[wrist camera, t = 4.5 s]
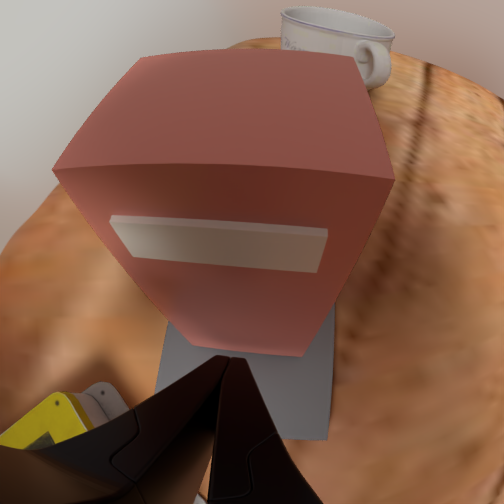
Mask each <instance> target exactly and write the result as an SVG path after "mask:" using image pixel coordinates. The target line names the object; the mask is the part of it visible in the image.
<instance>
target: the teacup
mask: <svg viewBox="0 0 504 504" xmlns="http://www.w3.org/2000/svg"><path fill="white" fill-rule="evenodd" d="M281 16H282V26H281V50H298V51H310V52H320V53H329V54H337V55H344V56H351V57H354V60H355V62H356V64H357V67H358V69H359V72H360V74H361V76H362V79H363V81H364V84H365V86H366V89H367V90H370V89H372V88H378V87H380V86H382V85H384V84H385V83H386V81H387V80H388V78H389V76H390V73H391V58H390V55H389V53H390V49H391V44H392V41H393V39H394V38H395V34H394V32H393V31H392V30H391V29H390V28H388V27H387V26H385V25H383V24H381V23H379V22H376V21H374V20H371V19H369V18H366V17H363V16H360V15H357V14H353V13H349V12H345V11H340V10H335V9H329V8H322V7H311V6H298V7H289V8H285V9H283V10H282V11H281Z"/></svg>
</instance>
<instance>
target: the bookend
mask: <svg viewBox="0 0 504 504" xmlns="http://www.w3.org/2000/svg"><path fill="white" fill-rule="evenodd" d="M334 328H335V302H334V304H333V306H332V308H331V310H330V311H329V313H328V315H327V317H326V318H325V320H324V322H323V323H322V325H321V327H320V328H319V330H318V332H317V334H316V335H315V337H314V339H313V340H312V342H311V343H310V345H309V347H308V348H307V350H306V352H305V353H304V355H303V356H302V357H295V356H281V355H269V354H259V353H249V352H240V351H231V350H223V349H215V348H208V347H201V346H194V345H192V344H191V343H190V342H189V341H188V340H187V339H186V338H185V337H184V336H183V335H182V334H181V333H180V332H179V331H178V330H177V329H176V328H175V327H174V325H173V324H172V323H171V322H170V321H168V326H167V331H166V335H165V340H164V345H163V350H162V355H161V361H160V366H159V371H158V377H157V382H156V388H155V393H154V394H156V393H158V392H159V391H161V390H162V389H164V388H166V387H167V386H169V385H170V384H172V383H174V382H175V381H177V380H178V379H180V378H181V377H183V376H184V375H186V374H187V373H189V372H191V371H192V370H194V369H195V368H197V367H198V366H200V365H201V364H203V363H204V362H206V361H207V360H209V359H210V358H212V357H213V356H215V355H224V356H229V357H230V358H231V357H241V358H245V359H246V360H247V362H248V364H249V367H250V369H251V372H252V374H253V376H254V379H255V381H256V383H257V386H258V388H259V390H260V393H261V395H262V397H263V399H264V402H265V404H266V406H267V409H268V411H269V413H270V415H271V417H272V420H273V422H274V424H275V426H276V429H277V431H278V434H279V435H280V437H281V439H294V440H327V438H328V428H329V417H330V406H331V392H332V376H333V357H334Z"/></svg>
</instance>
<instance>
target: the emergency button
mask: <svg viewBox="0 0 504 504" xmlns="http://www.w3.org/2000/svg"><path fill="white" fill-rule="evenodd" d="M128 410H130V409H129V407H128V406H127V404H126V403H125V401H124V400H123V398H122V397H121V395H120V394H119V392H118V391H117V389H116V388H115V387H114V386H113V385H112V384H110V383H108V382H101V381H100V382H97V383H95V384H93V385H91V386H90V387H89V388H87V389H86V390H85V391H83V392H82V393H69V392H55V393H52V394H51V395H49V396H48V397H47V398H46V399H44V400H43V401H42V402H41V403H39V404H38V405H37V406H36V407H34V408H33V409H32V410H31V411H29V412H28V413H27V414H26V415H24V416H23V417H22V418H21V419H19V420H18V421H17V422H16V423H14V424H13V425H12V426H11V427H10V428H8V429H7V430H6V431H5V432H3V433H2V434H1V435H0V445H3V446H8V447H12V448H17V449H25V450H34V449H40V448H45V447H48V446H51V445H53V444H56V443H59V442H61V441H64V440H67V439H69V438H72V437H74V436H77V435H79V434H82V433H84V432H87V431H89V430H91V429H93V428H96V427H98V426H100V425H102V424H104V423H106V422H108V421H110V420H112V419H114V418H116V417H117V416H119V415H121V414H123V413H125V412H126V411H128ZM193 504H207V503H206V501H205V500H204V499H203V498H202V497H201V496H200V495H199V494H198V493H197V495H196V498H195V501H194V503H193Z"/></svg>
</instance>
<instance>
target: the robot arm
mask: <svg viewBox="0 0 504 504" xmlns="http://www.w3.org/2000/svg"><path fill="white" fill-rule="evenodd" d="M211 456H212V462H211V471H210V480H209V489H208V499H207V502H208V503H207V504H323V502H322V501H321V500H320V498H319V497H318V496H317V494H316V493H315V492H314V490H313V489H312V488H311V486H310V485H309V484H308V482H307V481H306V480H305V478H304V477H303V475H302V474H301V473H300V471H299V469H298V468H297V466H296V465H295V463H294V462H293V460H292V459H291V457H290V455H289V453H288V451H287V449H286V447H285V445H284V443H283V441H282V439H281V437H280V435H279V434H278V431H277V429H276V426H275V424H274V422H273V420H272V417H271V415H270V413H269V411H268V409H267V406H266V404H265V402H264V399H263V397H262V395H261V393H260V390H259V388H258V386H257V383H256V381H255V379H254V376H253V374H252V372H251V369H250V367H249V364H248V362H247V360H246V359H245V358H241V357H231V358H230V357H229V356H224V355H215V356H213V357H212V358H210V359H209V360H207V361H206V362H204V363H203V364H201V365H200V366H198V367H197V368H195V369H194V370H192V371H191V372H189V373H187V374H186V375H184V376H183V377H181V378H180V379H178V380H177V381H175V382H174V383H172V384H170V385H169V386H167V387H166V388H164V389H162V390H161V391H159V392H158V393H156V394H154V395H153V396H151V397H150V398H148V399H146V400H145V401H143V402H141V403H140V404H138V405H136V406H135V407H134V409H133V408H131V409H130V410H128V411H126V412H125V413H123V414H121V415H119V416H117V417H116V418H114V419H112V420H110V421H108V422H106V423H104V424H102V425H100V426H98V427H96V428H93V429H91V430H89V431H87V432H84V433H82V434H79V435H77V436H74V437H72V438H69V439H67V440H64V441H61V442H59V443H56V444H53V445H51V446H48V447H45V448H40V449H34V450H25V449H17V448H12V447H8V446H3V445H0V504H193V503H194V501H195V498H196V495H197V493H198V490H199V488H200V485H201V482H202V480H203V477H204V474H205V472H206V469H207V466H208V464H209V461H210V458H211Z"/></svg>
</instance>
